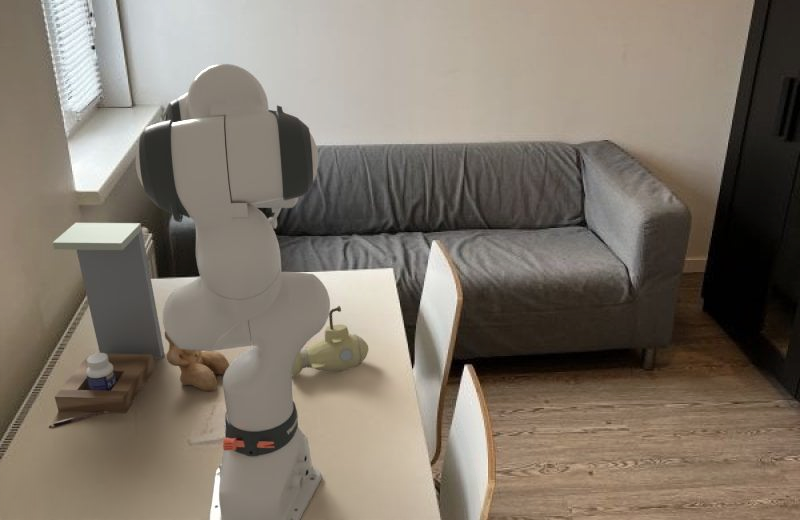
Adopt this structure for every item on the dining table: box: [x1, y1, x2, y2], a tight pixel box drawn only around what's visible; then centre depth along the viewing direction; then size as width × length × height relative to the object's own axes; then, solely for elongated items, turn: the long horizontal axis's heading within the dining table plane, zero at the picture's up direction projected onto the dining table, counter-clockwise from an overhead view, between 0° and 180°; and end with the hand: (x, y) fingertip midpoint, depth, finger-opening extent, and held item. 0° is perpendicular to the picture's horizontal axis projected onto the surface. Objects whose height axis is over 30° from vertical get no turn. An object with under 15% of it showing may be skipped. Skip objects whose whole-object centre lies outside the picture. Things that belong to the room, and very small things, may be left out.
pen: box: [48, 411, 107, 428], centre depth 153 cm, size 11×1×1 cm, turn 116°
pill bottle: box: [86, 352, 117, 391], centre depth 159 cm, size 5×5×9 cm
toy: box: [292, 305, 369, 376], centre depth 164 cm, size 9×17×15 cm, turn 107°
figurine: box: [164, 330, 230, 392], centre depth 162 cm, size 11×9×15 cm
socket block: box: [54, 352, 155, 414], centre depth 161 cm, size 16×14×4 cm
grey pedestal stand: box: [52, 222, 165, 359], centre depth 163 cm, size 10×14×32 cm
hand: (249, 227), depth 151 cm, fingers open, 8 cm apart
